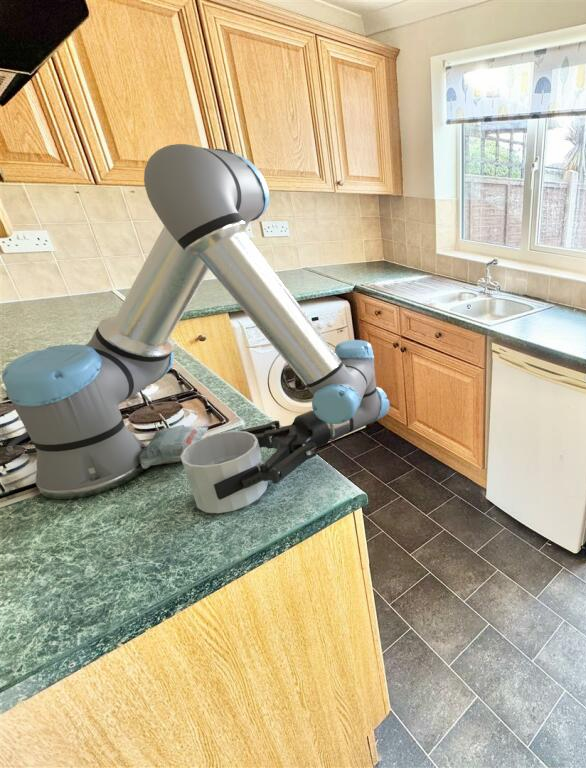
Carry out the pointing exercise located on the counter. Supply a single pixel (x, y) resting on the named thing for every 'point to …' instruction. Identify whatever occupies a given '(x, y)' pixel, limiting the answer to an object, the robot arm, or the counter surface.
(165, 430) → the packaged food
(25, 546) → the counter surface
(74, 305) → the counter surface
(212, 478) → the grey faceted pot
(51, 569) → the counter surface
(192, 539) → the counter surface
